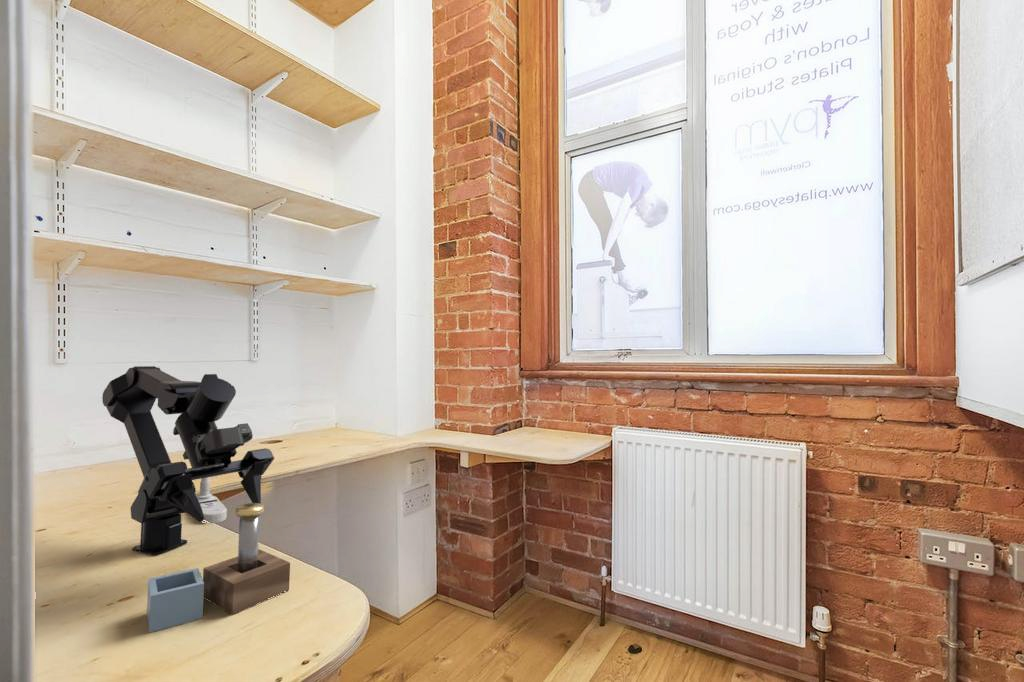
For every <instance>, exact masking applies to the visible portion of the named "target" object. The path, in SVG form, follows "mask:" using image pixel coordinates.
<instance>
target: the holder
mask: <svg viewBox="0 0 1024 682" xmlns="http://www.w3.org/2000/svg"><path fill="white" fill-rule="evenodd" d="M147 582H148V583H147V603H146V618H147V619H146V620H147V626H148V633H149V634H150V633H154V632H157V631H161V630H165V629H168V628H171V627H176V626H179V625H183V624H186V623H187V624H188V623H190V622H193V621H197V620H201V619H203V615H204V613H203V612H204V598H203V596H204V582H203V575H201V572H200V568H199V567H197V568H192V569H187V570H183V571H178V572H173V573H169V574H165V575H160V576H156V577H150V578H148V581H147Z"/></svg>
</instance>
